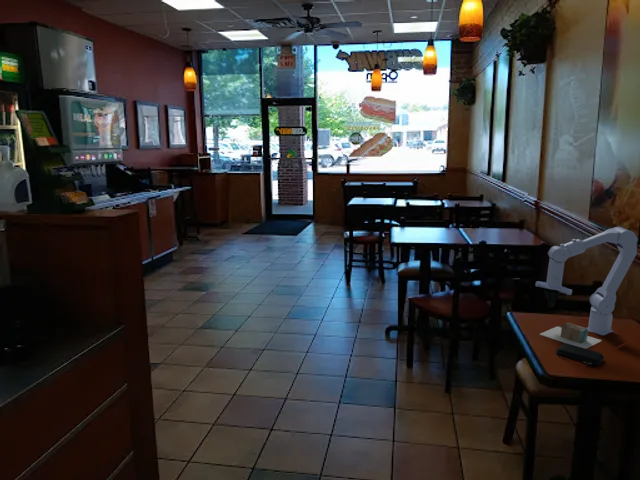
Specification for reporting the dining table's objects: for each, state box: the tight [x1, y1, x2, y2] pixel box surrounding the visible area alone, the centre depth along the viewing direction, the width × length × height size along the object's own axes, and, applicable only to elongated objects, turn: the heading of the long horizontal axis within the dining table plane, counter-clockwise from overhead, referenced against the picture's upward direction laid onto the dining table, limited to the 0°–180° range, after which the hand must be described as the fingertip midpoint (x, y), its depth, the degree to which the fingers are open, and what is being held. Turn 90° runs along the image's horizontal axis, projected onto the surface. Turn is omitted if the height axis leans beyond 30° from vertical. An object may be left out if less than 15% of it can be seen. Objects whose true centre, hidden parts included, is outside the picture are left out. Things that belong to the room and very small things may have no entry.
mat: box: [539, 326, 602, 349], centre depth 203 cm, size 15×18×1 cm
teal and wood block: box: [560, 322, 589, 344], centre depth 201 cm, size 5×5×8 cm
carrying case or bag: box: [555, 343, 605, 367], centre depth 185 cm, size 11×3×15 cm
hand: (550, 306), depth 211 cm, fingers closed
